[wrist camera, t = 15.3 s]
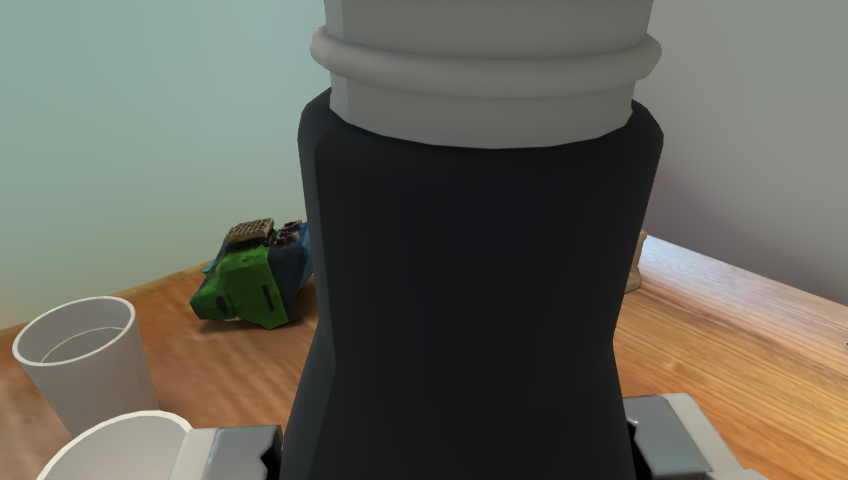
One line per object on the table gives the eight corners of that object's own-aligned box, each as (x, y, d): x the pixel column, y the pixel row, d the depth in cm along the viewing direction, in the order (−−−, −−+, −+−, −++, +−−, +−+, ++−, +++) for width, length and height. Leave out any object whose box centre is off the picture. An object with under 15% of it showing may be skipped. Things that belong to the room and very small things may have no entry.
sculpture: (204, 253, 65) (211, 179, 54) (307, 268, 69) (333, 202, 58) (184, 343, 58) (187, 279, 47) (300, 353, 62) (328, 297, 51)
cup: (135, 387, 49) (94, 286, 43) (193, 418, 46) (157, 314, 40) (50, 449, 43) (-11, 342, 37) (109, 491, 40) (52, 381, 34)
